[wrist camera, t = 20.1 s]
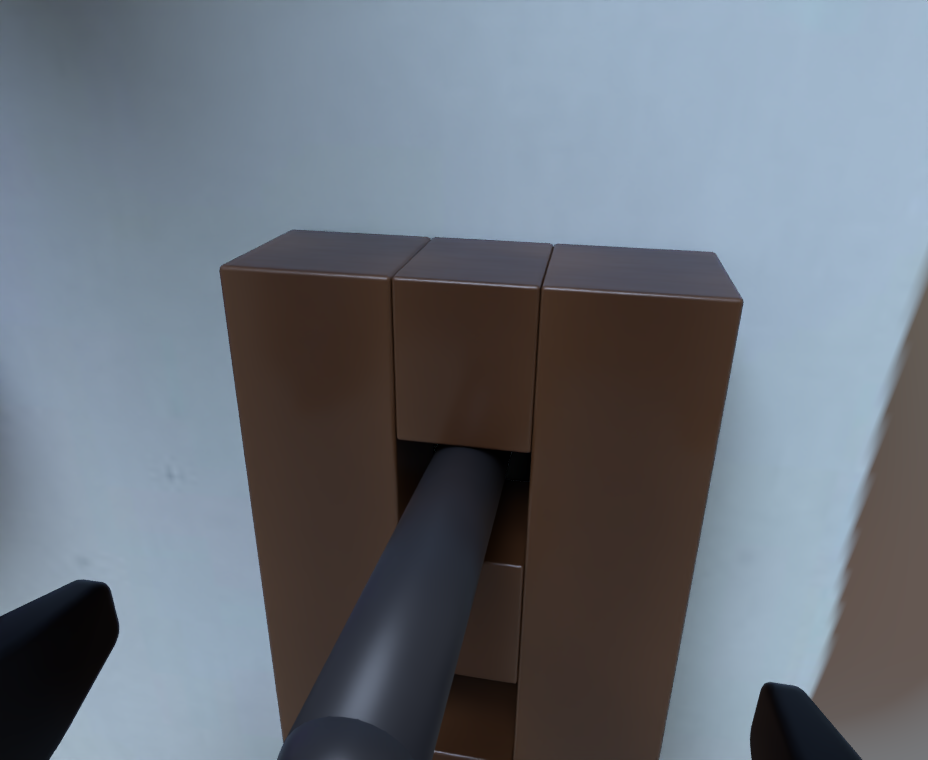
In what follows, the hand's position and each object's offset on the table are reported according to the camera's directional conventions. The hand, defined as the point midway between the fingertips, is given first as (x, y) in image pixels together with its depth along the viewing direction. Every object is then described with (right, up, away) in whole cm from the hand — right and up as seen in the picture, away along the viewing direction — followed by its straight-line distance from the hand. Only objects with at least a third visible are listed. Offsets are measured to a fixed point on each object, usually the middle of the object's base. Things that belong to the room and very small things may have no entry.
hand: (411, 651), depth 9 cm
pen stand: (+1, 0, +7) cm, 7 cm away
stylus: (+1, +3, +6) cm, 7 cm away
